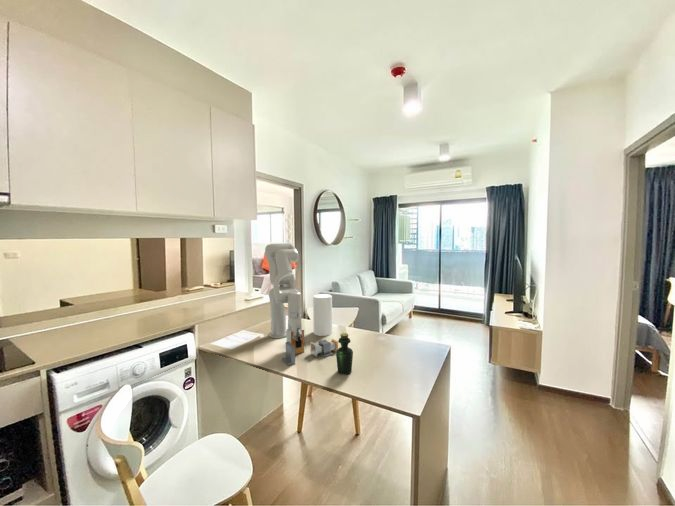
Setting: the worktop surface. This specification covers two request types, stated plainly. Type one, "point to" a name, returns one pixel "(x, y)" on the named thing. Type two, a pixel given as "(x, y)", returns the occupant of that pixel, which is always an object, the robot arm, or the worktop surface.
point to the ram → (319, 348)
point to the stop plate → (289, 354)
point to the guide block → (325, 348)
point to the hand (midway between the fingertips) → (295, 344)
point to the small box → (293, 341)
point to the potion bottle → (344, 355)
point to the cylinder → (322, 314)
